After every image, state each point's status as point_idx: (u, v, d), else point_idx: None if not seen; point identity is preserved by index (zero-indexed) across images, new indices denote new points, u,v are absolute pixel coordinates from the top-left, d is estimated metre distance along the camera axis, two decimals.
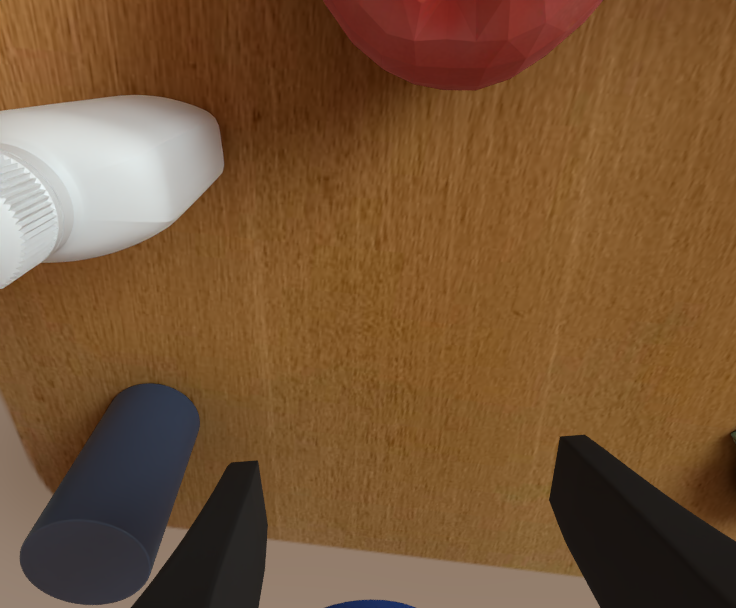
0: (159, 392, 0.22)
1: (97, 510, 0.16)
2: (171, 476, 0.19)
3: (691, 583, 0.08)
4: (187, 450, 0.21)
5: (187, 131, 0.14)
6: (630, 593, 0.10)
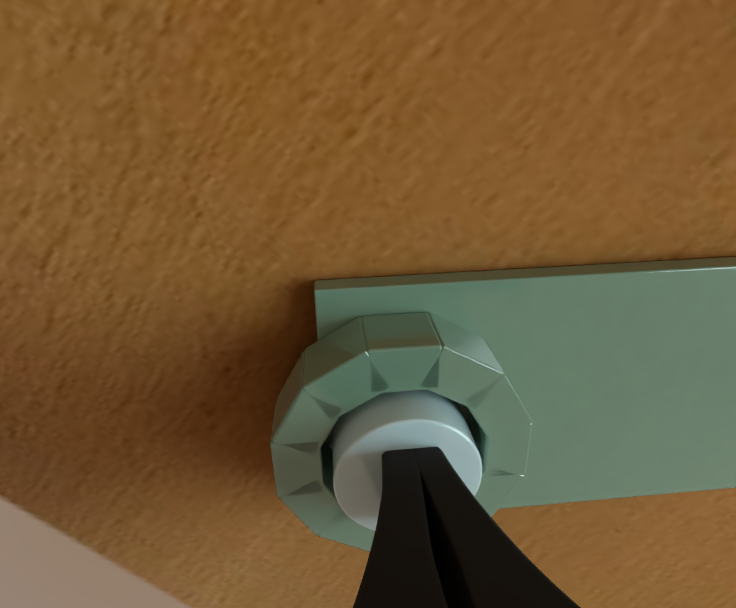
0: None
1: None
2: None
3: (469, 605, 0.08)
4: None
5: None
6: None
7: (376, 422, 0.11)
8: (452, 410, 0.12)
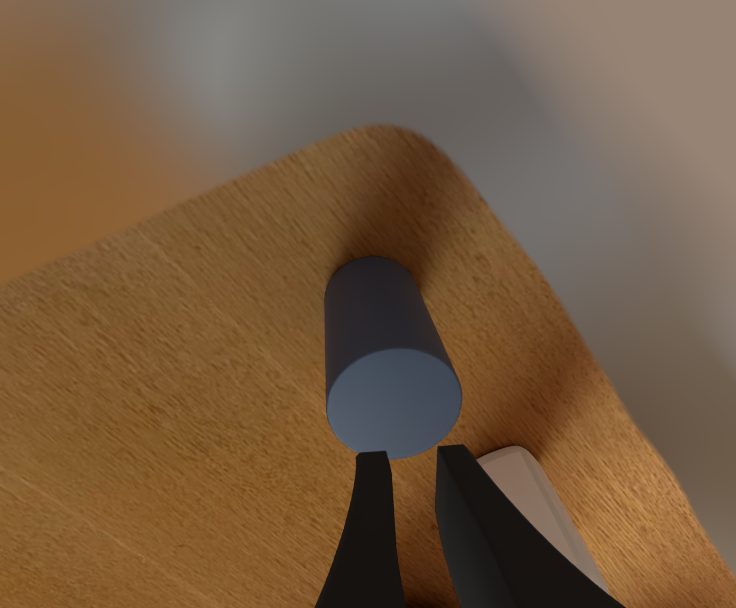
0: None
1: None
2: None
3: (508, 601, 0.08)
4: None
5: None
6: None
7: None
8: None
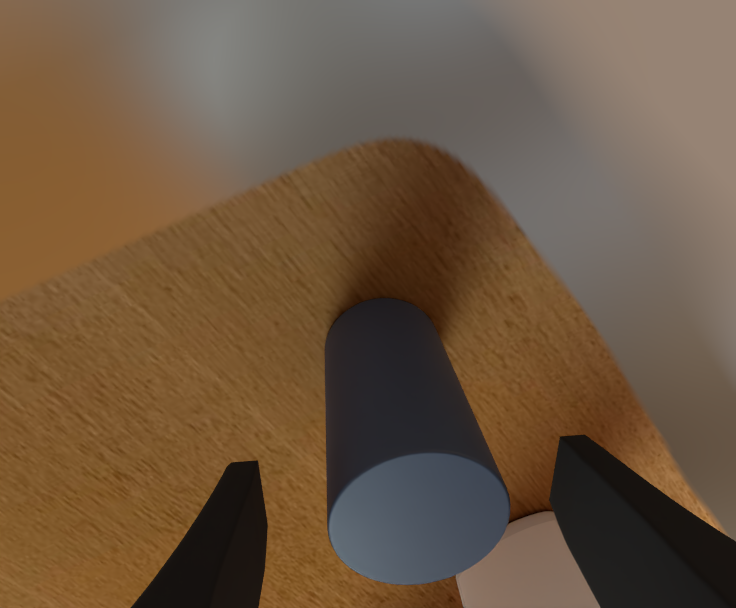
0: None
1: None
2: None
3: (691, 583, 0.08)
4: None
5: None
6: (630, 593, 0.10)
7: None
8: None
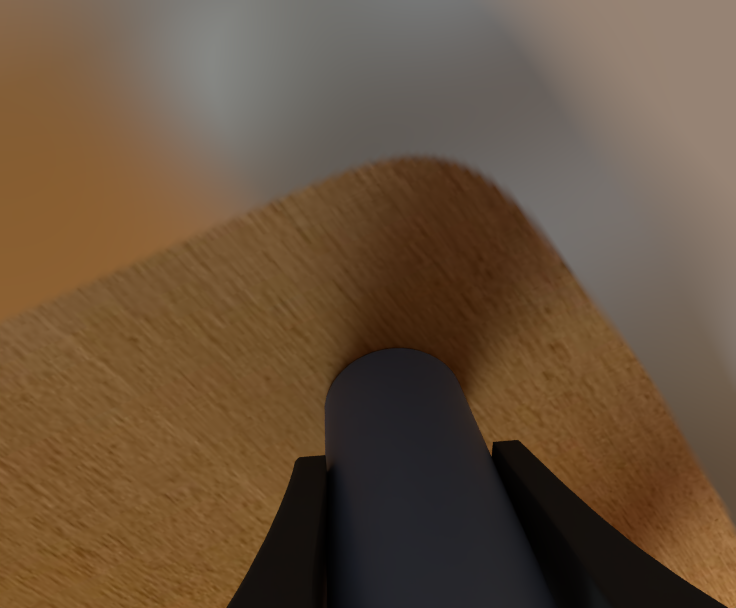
0: None
1: None
2: None
3: (592, 593, 0.08)
4: None
5: None
6: None
7: None
8: None
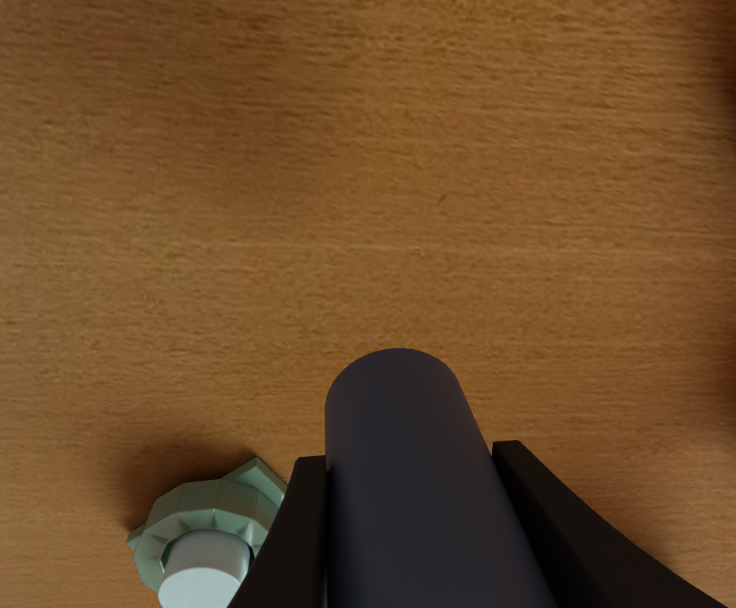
0: None
1: None
2: None
3: (592, 593, 0.08)
4: None
5: None
6: None
7: (221, 566, 0.21)
8: None
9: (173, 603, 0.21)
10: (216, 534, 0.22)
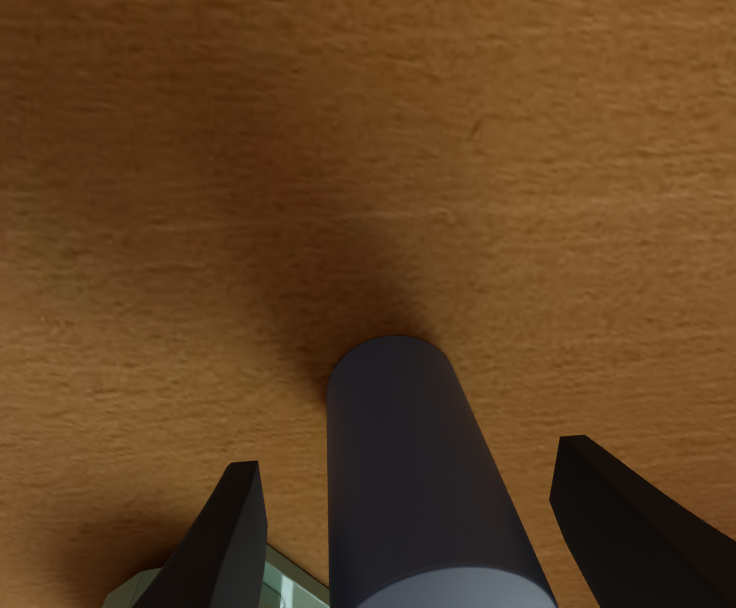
0: None
1: None
2: None
3: (691, 583, 0.08)
4: None
5: None
6: (630, 593, 0.10)
7: None
8: None
9: None
10: None
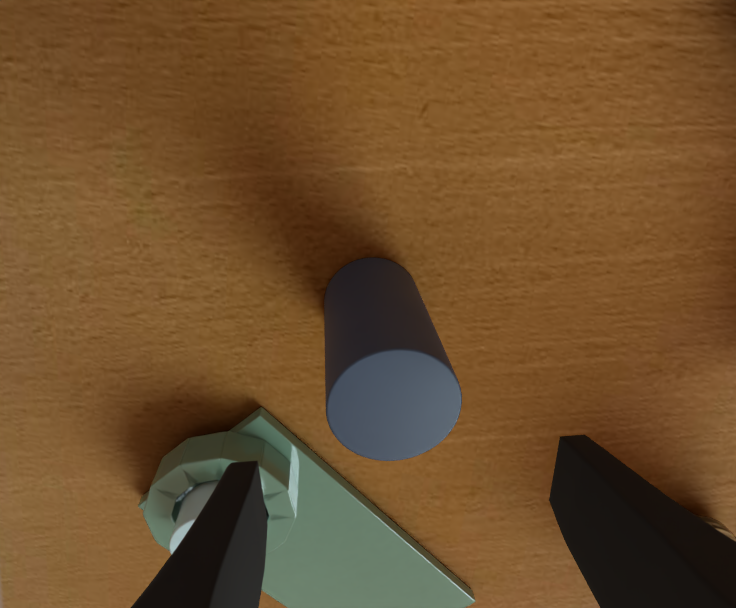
0: None
1: None
2: None
3: (691, 583, 0.08)
4: None
5: None
6: (630, 593, 0.10)
7: None
8: None
9: None
10: None
